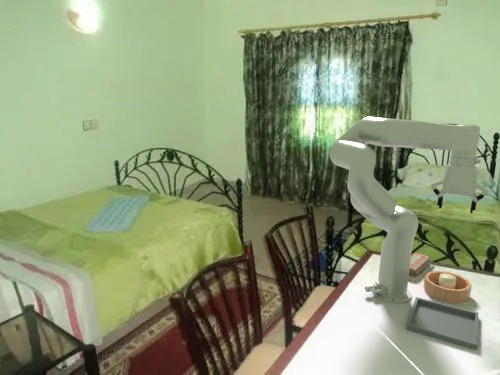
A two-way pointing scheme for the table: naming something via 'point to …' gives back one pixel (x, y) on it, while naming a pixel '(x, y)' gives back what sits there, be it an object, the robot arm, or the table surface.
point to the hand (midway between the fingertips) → (455, 209)
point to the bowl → (445, 294)
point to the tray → (444, 322)
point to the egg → (447, 281)
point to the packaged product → (419, 266)
